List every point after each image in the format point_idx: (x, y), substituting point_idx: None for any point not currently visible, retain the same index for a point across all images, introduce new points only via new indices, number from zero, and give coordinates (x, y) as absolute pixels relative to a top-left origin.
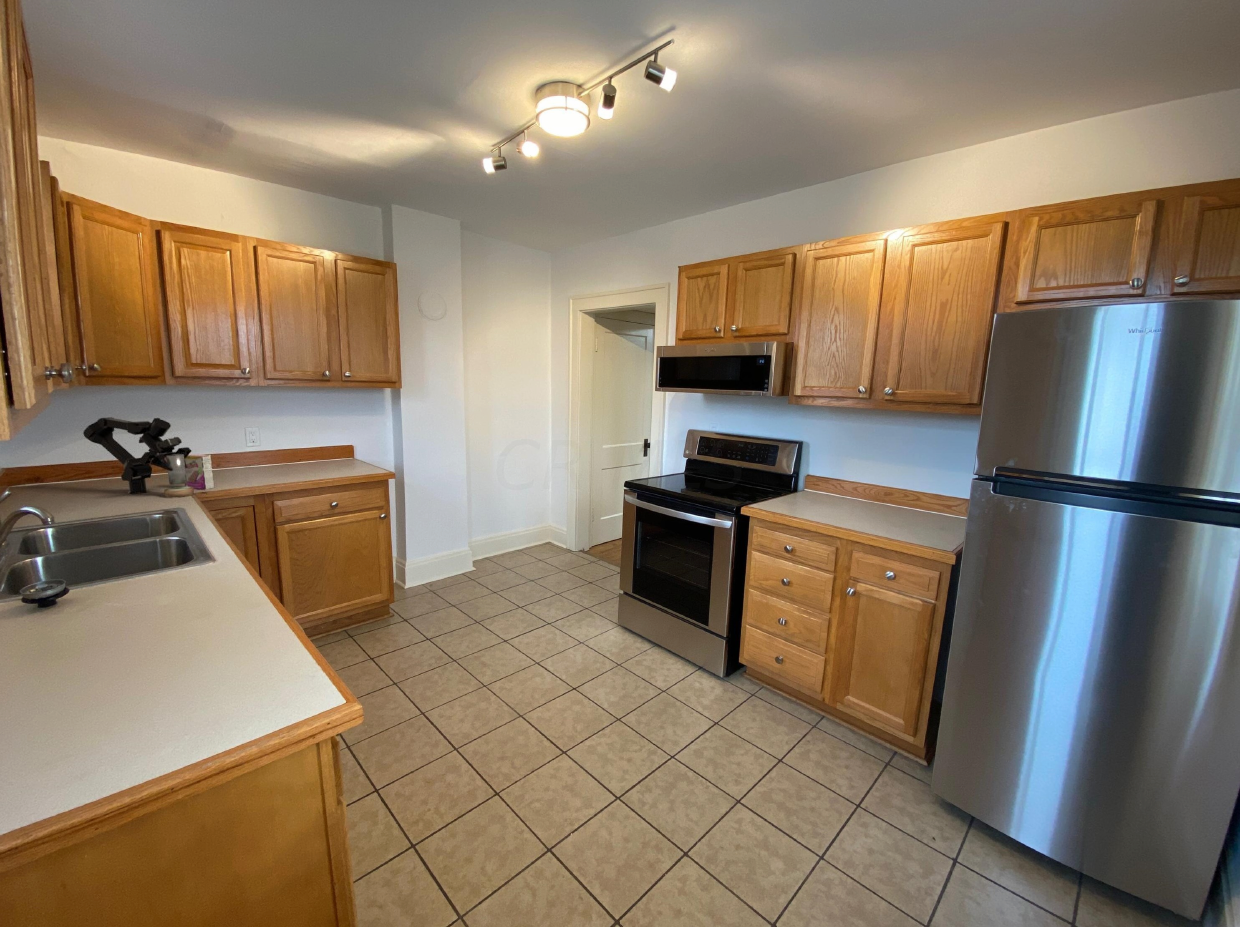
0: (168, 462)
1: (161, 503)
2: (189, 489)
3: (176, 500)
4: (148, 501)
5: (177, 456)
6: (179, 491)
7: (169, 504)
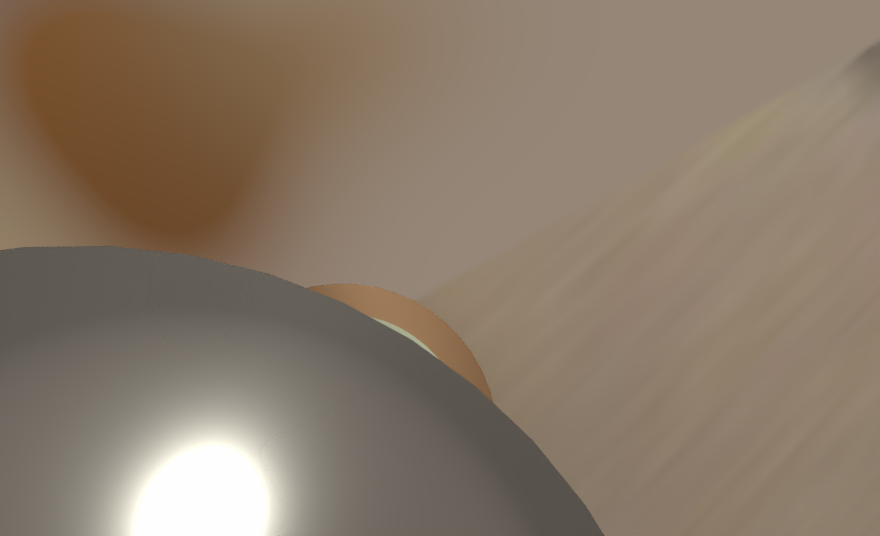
0: None
1: (728, 304)
2: (357, 284)
3: (591, 262)
4: (670, 518)
5: (427, 351)
6: (457, 337)
7: (752, 196)
